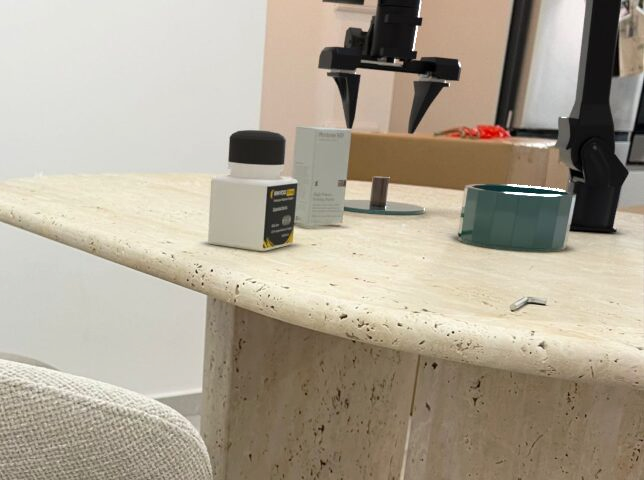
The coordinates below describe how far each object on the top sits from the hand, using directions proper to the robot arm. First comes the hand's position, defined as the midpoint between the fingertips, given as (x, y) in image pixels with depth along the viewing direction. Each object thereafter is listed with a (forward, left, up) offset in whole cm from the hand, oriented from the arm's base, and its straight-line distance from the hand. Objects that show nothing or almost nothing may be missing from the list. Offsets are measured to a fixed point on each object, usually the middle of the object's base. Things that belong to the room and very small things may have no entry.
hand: (380, 131), depth 132 cm
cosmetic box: (+8, +15, -12) cm, 20 cm away
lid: (-1, -4, -11) cm, 12 cm away
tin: (-16, +20, -12) cm, 28 cm away
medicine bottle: (+15, +35, -12) cm, 40 cm away
